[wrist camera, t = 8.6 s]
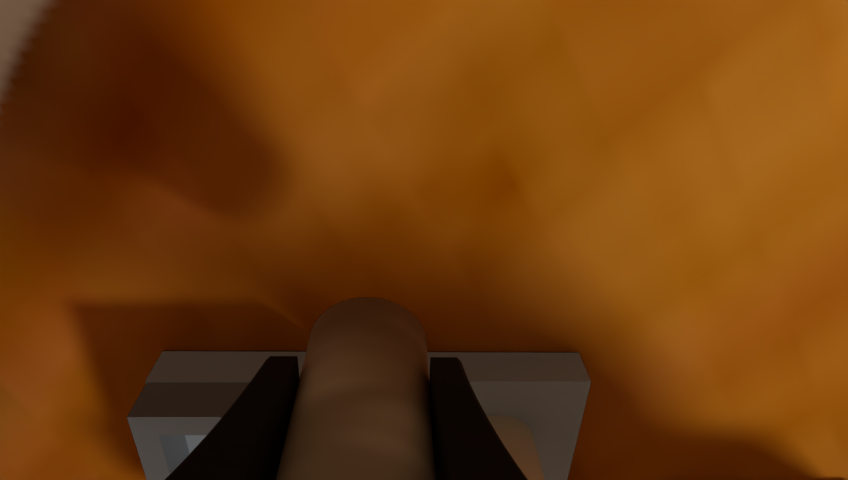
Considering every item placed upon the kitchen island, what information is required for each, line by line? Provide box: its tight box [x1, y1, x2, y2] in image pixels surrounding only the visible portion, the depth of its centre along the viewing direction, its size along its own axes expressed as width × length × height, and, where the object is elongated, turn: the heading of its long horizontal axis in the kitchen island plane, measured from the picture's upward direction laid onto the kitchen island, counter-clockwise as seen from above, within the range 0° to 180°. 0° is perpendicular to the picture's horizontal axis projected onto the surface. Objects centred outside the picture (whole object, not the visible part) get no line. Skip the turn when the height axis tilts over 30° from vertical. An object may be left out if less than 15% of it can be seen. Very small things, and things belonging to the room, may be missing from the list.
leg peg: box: [276, 297, 435, 480], centre depth 11 cm, size 3×3×6 cm
